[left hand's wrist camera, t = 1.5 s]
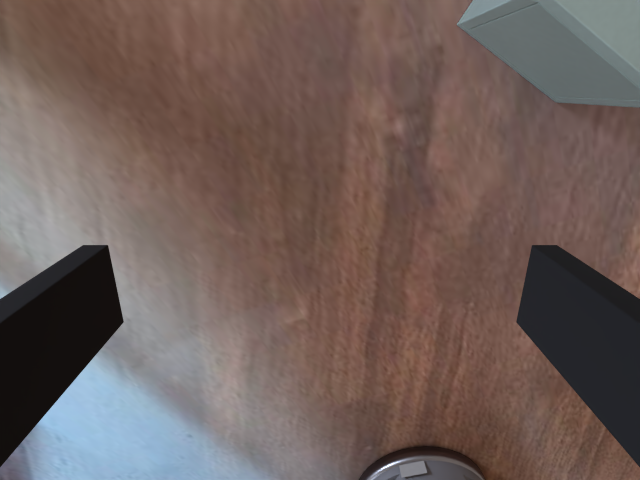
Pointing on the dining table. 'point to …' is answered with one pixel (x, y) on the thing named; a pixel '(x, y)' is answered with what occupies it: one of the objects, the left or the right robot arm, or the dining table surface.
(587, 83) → the chest
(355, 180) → the dining table surface
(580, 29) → the lid
